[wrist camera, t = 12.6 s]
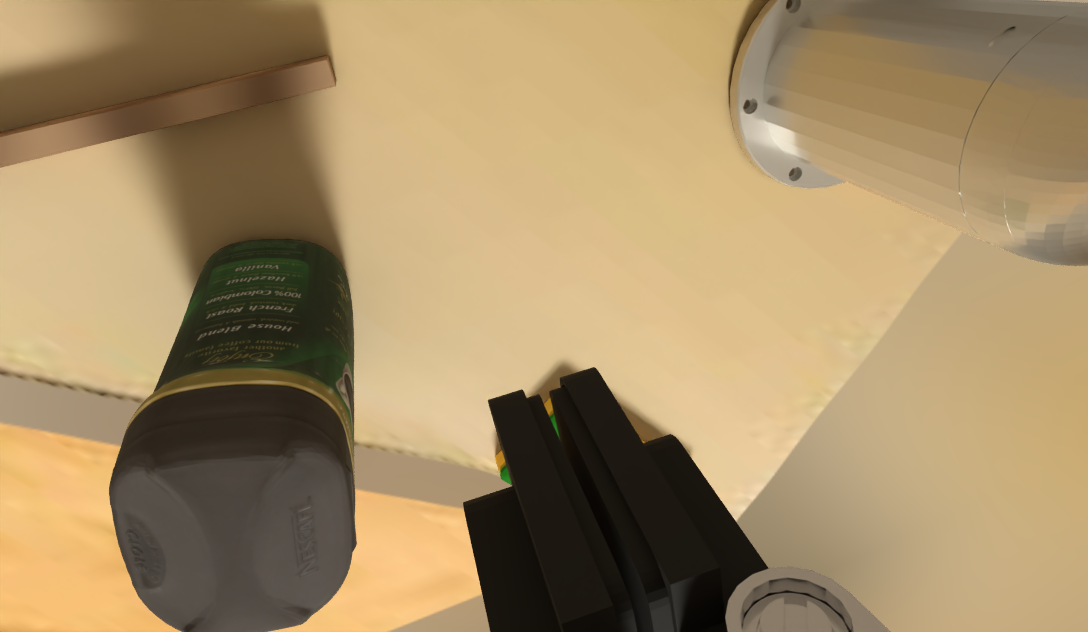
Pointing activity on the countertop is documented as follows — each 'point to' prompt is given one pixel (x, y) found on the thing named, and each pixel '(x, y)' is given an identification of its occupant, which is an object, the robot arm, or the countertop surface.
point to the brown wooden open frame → (164, 110)
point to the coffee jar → (246, 448)
